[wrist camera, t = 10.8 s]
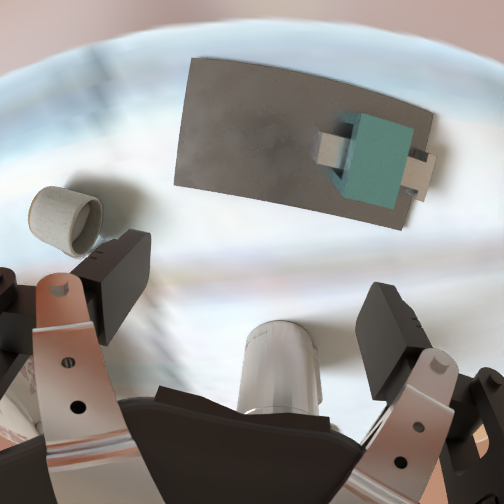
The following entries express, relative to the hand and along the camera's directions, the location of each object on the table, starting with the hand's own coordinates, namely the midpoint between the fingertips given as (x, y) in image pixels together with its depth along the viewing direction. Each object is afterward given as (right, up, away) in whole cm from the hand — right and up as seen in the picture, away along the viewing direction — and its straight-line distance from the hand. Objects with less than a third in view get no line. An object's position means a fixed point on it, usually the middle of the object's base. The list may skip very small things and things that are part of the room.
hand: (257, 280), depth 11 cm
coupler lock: (+11, +11, +20) cm, 25 cm away
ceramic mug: (-23, +5, +27) cm, 35 cm away
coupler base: (+5, +12, +21) cm, 25 cm away
